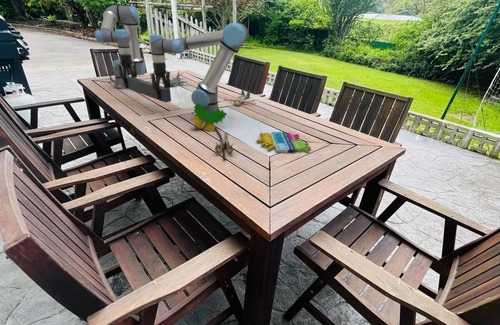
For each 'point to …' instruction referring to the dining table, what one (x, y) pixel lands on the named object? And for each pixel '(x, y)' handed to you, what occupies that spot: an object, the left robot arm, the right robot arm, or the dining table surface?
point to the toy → (241, 99)
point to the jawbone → (224, 145)
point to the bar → (147, 88)
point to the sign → (283, 142)
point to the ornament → (207, 117)
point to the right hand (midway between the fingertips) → (163, 99)
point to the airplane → (175, 80)
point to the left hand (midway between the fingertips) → (130, 87)
